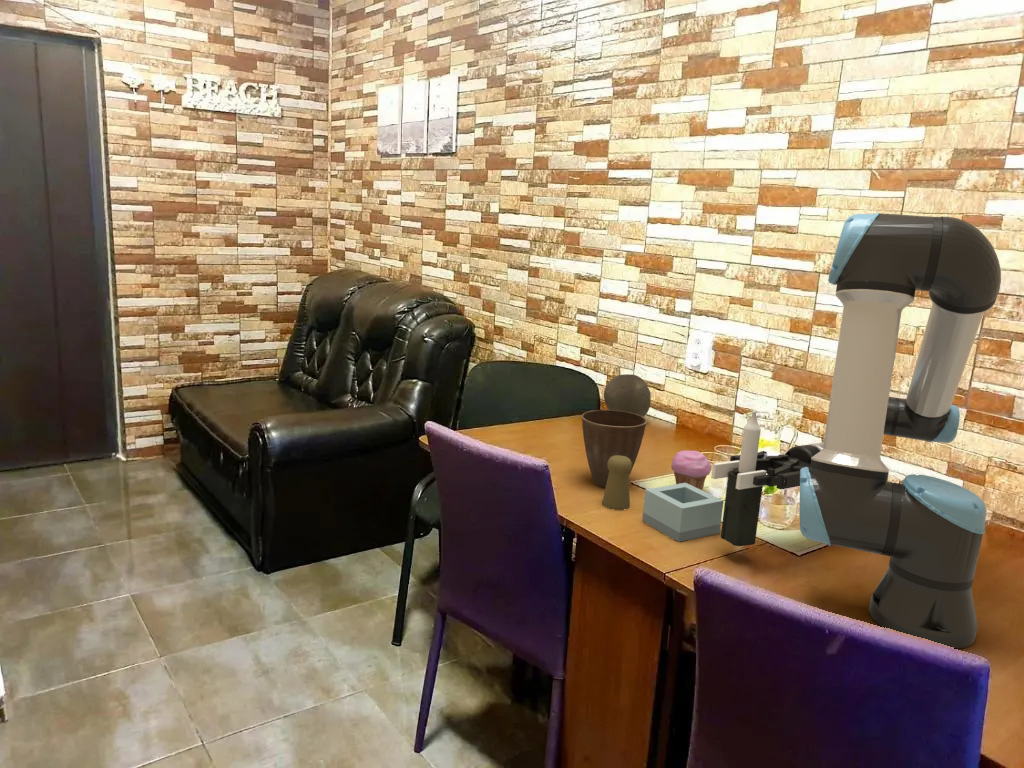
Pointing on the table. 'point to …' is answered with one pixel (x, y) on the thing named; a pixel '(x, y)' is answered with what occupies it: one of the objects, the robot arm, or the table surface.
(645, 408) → the dark grey round ball
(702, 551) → the table surface
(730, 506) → the candle
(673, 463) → the cupcake
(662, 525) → the holder
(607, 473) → the plant pot
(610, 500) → the olive pawn
